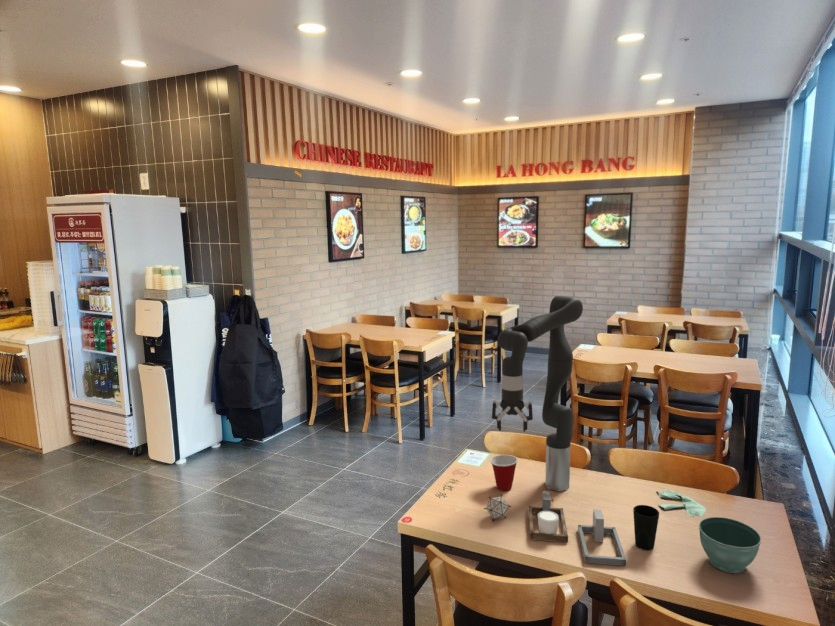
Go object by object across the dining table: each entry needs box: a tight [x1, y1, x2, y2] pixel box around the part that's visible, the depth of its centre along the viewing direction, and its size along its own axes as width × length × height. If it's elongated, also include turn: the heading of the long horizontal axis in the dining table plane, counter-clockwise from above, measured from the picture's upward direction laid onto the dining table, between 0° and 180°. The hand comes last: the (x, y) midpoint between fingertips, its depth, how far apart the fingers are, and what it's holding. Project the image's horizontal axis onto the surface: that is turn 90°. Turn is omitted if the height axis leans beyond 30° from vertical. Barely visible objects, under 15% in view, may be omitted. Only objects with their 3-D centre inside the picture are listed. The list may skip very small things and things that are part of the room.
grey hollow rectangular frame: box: [577, 508, 627, 567], centre depth 174 cm, size 18×12×8 cm, turn 171°
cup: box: [632, 504, 660, 552], centre depth 174 cm, size 8×8×12 cm
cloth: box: [655, 488, 707, 518], centre depth 201 cm, size 20×22×2 cm
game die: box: [483, 493, 512, 522], centre depth 193 cm, size 9×8×10 cm
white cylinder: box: [537, 511, 560, 534], centre depth 182 cm, size 7×7×7 cm
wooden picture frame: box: [527, 491, 569, 543], centre depth 187 cm, size 18×12×8 cm, turn 171°
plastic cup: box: [489, 454, 518, 492], centre depth 215 cm, size 11×11×12 cm
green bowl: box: [698, 516, 762, 574], centre depth 164 cm, size 16×16×11 cm
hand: (512, 430), depth 195 cm, fingers open, 8 cm apart
